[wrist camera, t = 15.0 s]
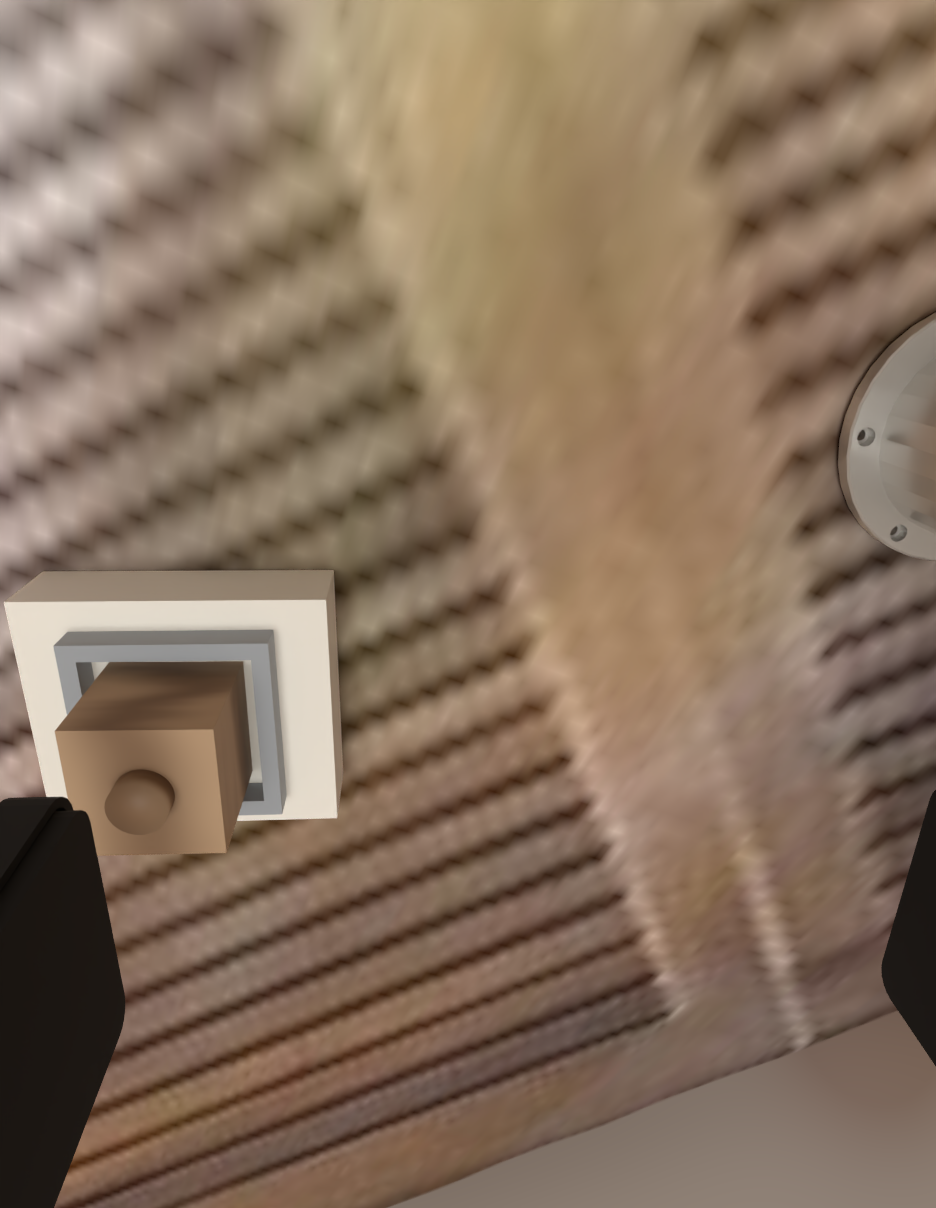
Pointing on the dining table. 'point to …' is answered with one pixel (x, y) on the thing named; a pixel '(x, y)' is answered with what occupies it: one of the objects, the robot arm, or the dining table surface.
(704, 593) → the dining table surface
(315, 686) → the base plate
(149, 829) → the walnut block
